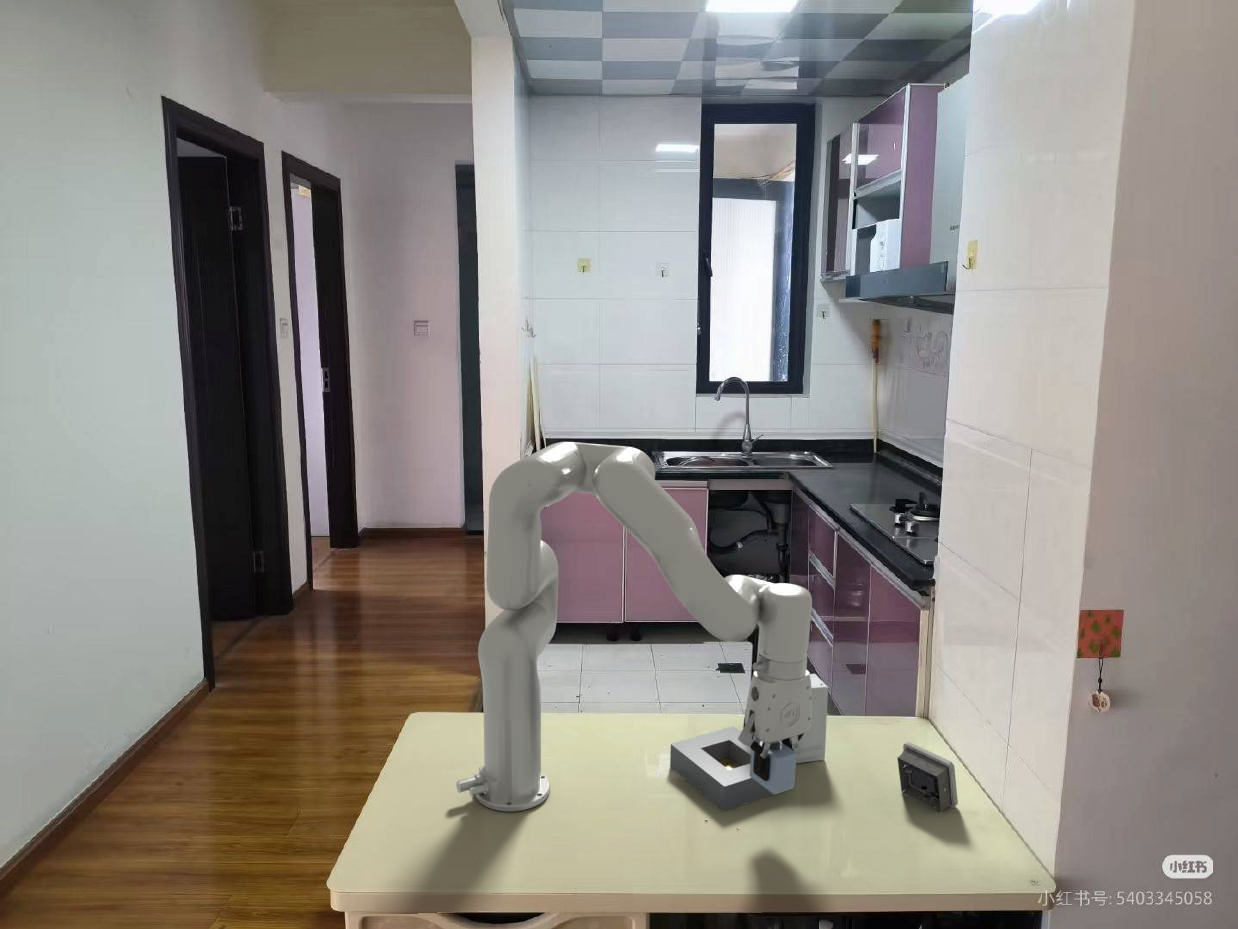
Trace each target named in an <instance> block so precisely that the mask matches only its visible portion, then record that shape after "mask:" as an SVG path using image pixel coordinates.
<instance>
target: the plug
mask: <svg viewBox="0 0 1238 929" xmlns="http://www.w3.org/2000/svg"><path fill="white" fill-rule="evenodd" d="M762 743H763V742H762V741H761V742H760V745H761V746H762ZM768 756H769V757H770V771H769V780H767V781H764V780H762V779H761V778H760V777H759V776H757V775H756V774H755V773H754V772H753V764H754V751H753V750H751V763H750V777H752V778H753V779H754V780H756V781H757V782H758V783H759V784H761V785H762V786H763V787H765V788H766V789H767V790H769V791H770V792H771V793H773V794H774V795H777V794H779V793H781V794H782V793H783V792H786V791H789V790H792V789H794V788H795V778H796V768H797V763H796V758H797V753H796V752H795V751H793V750H792V749H790V748H789V747H787V746H786V745H784V744H783V743H781V742H780V741H776V742H772V743H771V744H770V748H769V752H768Z"/></svg>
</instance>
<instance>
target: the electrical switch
mask: <svg viewBox="0 0 1238 929" xmlns="http://www.w3.org/2000/svg"><path fill="white" fill-rule="evenodd" d="M902 750H903V751H902V753H900V755H899V756H897V758H896V759H897V764H898V765H897V766H898V772H899V773H898V775H899V782H900V789H901V794H903V795H904V796H905V795H906V796H907V797H908V798H911V799H913V800H915V801H917V802H919V803H921V804H923V805H925V806H926V807H929V808H931V809H933V810H934V811H937V812H938V813H940V814H941V813H943V812H944V811H945V810H946V809H948V808H949V807H950V808H952V809H954V808H956V807H957V806H958V804H959V803H958V802H959V800H958V791H957V781H956V778H957V777H956V771H955V764H954V763H953V761H951V760H949V759H946V758H945V757H942V756H940V755H938V754H935V753H933V752H932V751H929V750H927V749H925V748H923V747H921V746H918V745H916V744H914V743H912V742H911V741H906V742H905V743H903V746H902ZM925 796H928V797H926V798H925Z"/></svg>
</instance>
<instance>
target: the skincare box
mask: <svg viewBox="0 0 1238 929" xmlns="http://www.w3.org/2000/svg"><path fill="white" fill-rule="evenodd" d="M809 674H810V679H811V687H812V718H811V721H812V725H811V727H810V729H809V730H808V731H807V732H805V733H804V735H803V736H802V738H801V739H800V740H799V742H798V748H797V749H795V750H794V751H795V752H796V753H797V758H796V764H801V763H808V762H816V761H823V760H825V759H826V757H825V756H826V739H827V738H826V737H827V720H828V719H827V717H828V700H829V698H828V697H829V686H828V685H827V684H825V683H824V681H823V680H821V678H820V677H819V676H818V675H817V674H816V673H809ZM779 741H780V742H782V741H781V740H779Z"/></svg>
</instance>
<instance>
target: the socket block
mask: <svg viewBox="0 0 1238 929" xmlns="http://www.w3.org/2000/svg"><path fill="white" fill-rule="evenodd" d="M741 732H742V730H740V729H738V728H737V727H735V726H730V727H729V726H728V727H726V728H722V729H719V730H715V731H712V732H709V733H705V734H700V735H698V736H693V737H690V738H687V739H684V740H680V741H676V742H674V743H670V753H669V754H670V757H669V760H670V764H669V767H670V768H671V769H672V770H673V771H674V772H675V773H677V774H678V775H679V774H680V775H679V776H680V777H682V778H683V779H684V780H685V781H686V782H687V783H689V784H690V785H691V786H692V787H693V788H694V789H696V790H697V791H698V792H699V791H700V792H699V793H701V795H702V796H704V797H706V798H707V799H708V800H709V801H710V802H712V803H713V804H714V805H715V806H716V807H717V808H719V809H720V810H721V812H726V811H729V810H732V809H734V808H737V807H741V806H743V805H742V804H744V805H746V804H745V803H747V804H750V803H752V802H755V801H758V800H761V799H764V797H765V798H767V797H770V796H774V795H773V793H771V792H770V791H769V790H767V789H766V788H765V787H763V786H762V785H761V784H759V783H758V782H757V781H756V780H754V779H753V778H752V777H750V763H751V750H752V749H751V748H750V747H748V746H746V745H744V744H743V743H741V742H740V741H739V740H738V738H739V736H740V734H741ZM740 805H741V806H740Z"/></svg>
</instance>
